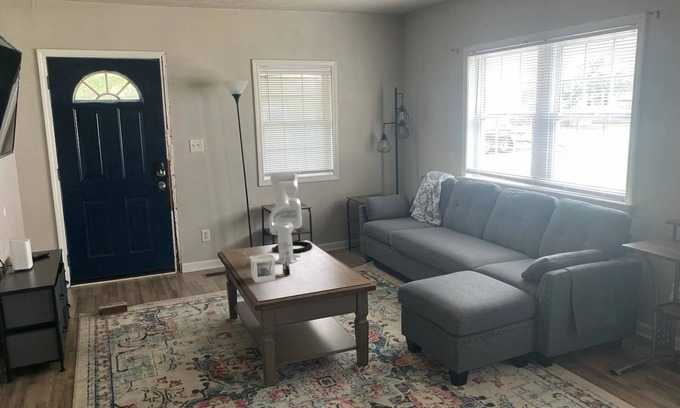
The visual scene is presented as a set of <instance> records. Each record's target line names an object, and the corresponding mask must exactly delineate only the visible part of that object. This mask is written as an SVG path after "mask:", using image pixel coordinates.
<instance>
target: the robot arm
mask: <svg viewBox="0 0 680 408" xmlns="http://www.w3.org/2000/svg"><path fill="white" fill-rule="evenodd" d="M270 182H271V185H272V187H273V189H274V196H275V197H274V199H275V206H274V208H273V209H272V210H271V213H270V214H269V222H268V223H269V231H270V234H271V235H274V236H276V235H277V244H278V249H279V253H278V259H277V260H276V263H277V264H281V265H282V267H283V266H285V269H283V268H282V274H284V273H285V275H289V276H290V275H291V271H290V270H291V269H290V264H293V263H295V262H296V261H297V258H301V254H298V253H296V254H293V249H294V248H293V247H294V246H293V243H292V241H293V235H292V232H293V231H294V230H295V229H296V230H298V229H300V228H302V226H303V218H302V215H303V214H302V205H301V203H302V202H301V200H300V199H299V198H298V197H290V195H297V194H298V192H299V176H298V174H297V173H296V172H294V171H287V172H285V171H283V172H275V173H272V174H271V175H270ZM278 213H280V215H277V214H278ZM291 213H292V214H291ZM276 215H277V216H276Z"/></svg>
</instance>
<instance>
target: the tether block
mask: <svg viewBox="0 0 680 408" xmlns="http://www.w3.org/2000/svg"><path fill="white" fill-rule="evenodd" d="M283 269H285V266H283V265H282V270H283ZM257 273H258V277H260V276H267V275H269V270H268V266H263V267H257ZM288 276H290V275H285V273H284V274H283V273H279V274H275V278H280V277H288Z"/></svg>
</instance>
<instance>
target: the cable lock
mask: <svg viewBox="0 0 680 408" xmlns="http://www.w3.org/2000/svg"><path fill="white" fill-rule="evenodd" d="M292 243H293V247H294V246H301V247H299V248H293V253H296V254H302V253H301V252H303V253H306V252H309V251H310V250H312V248H313V244H312V243H311V242H309V241H304V240H292ZM271 252H272V253H275V254H276V253H278V254H279V249H278V243H277V244H276V245H275V246H274V247H273V246H272V248H271Z"/></svg>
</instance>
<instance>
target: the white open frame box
mask: <svg viewBox="0 0 680 408" xmlns="http://www.w3.org/2000/svg"><path fill="white" fill-rule="evenodd" d="M249 259H250V269H251V270H250V271H251V272H250V273H251V278H252V279H253V281H254V283H255V284H257V283H263V282H271V281H276V278H277V277H275V275H276V267H275V266H276V265H275V261H276V258H275V257H274V255H272V253H265V254H263V253H262V254H258V255H257V254H256V255H250V256H249ZM258 263H259V264H261V263H267V268H268V270H269V275H267V276H260V277H258V273H257V268H258Z"/></svg>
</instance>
